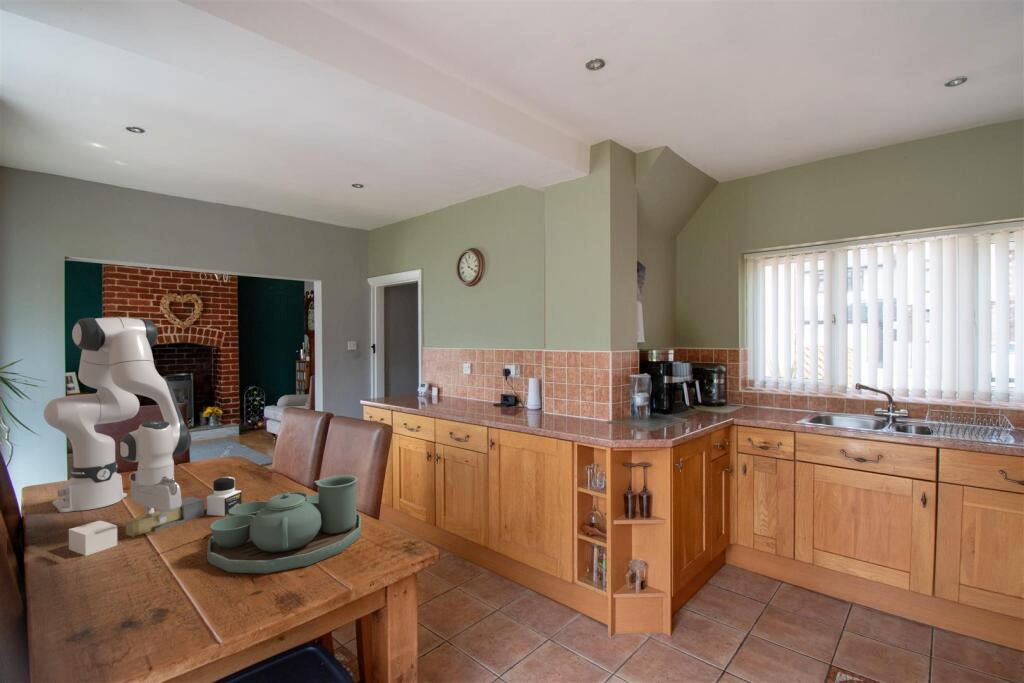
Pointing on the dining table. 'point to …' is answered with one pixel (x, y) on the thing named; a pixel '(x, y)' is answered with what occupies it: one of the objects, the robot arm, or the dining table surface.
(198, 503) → the sleeve
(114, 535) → the socket
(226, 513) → the medicine bottle
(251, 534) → the tea set
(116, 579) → the dining table surface
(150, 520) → the olive rectangular bar
